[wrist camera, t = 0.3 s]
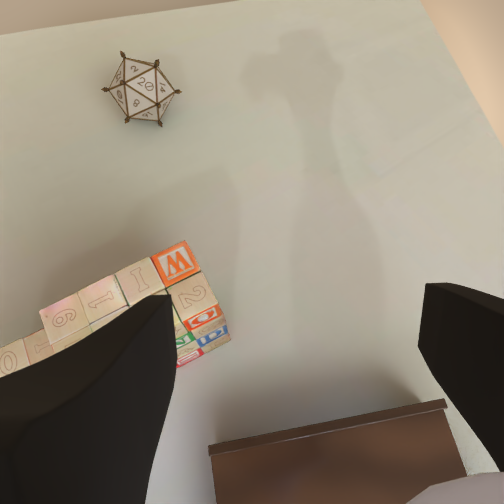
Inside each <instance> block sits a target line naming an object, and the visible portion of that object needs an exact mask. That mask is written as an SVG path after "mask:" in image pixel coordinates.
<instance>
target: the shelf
mask: <svg viewBox="0 0 504 504" xmlns="http://www.w3.org/2000/svg"><path fill="white" fill-rule="evenodd" d="M447 408H448V407H447V404H446V401H445V399H444V398H443V399H438V400H433V401H428V402H423V403H418V404H413V405H408V406H403V407H398V408H393V409H388V410H383V411H378V412H373V413H368V414H363V415H358V416H353V417H348V418H343V419H338V420H333V421H328V422H323V423H318V424H313V425H308V426H303V427H298V428H293V429H288V430H283V431H278V432H273V433H268V434H263V435H258V436H253V437H248V438H243V439H238V440H233V441H228V442H223V443H218V444H213V445H209V446H208V450H209V456H211V462H212V470H213V478H214V486H215V494H216V503H217V504H406V503H407V502H409V501H410V500H412V499H413V498H414V497H416V496H417V495H418V494H420V493H421V492H422V491H424V490H425V489H427V488H428V487H429V486H432V485H435V484H439V483H443V482H447V481H451V480H455V479H459V478H463V477H467V474H466V471H465V468H464V465H463V462H462V460H461V457H460V454H459V451H458V449H457V446H456V443H455V440H454V438H453V435H452V432H451V429H450V427H449V424H448V421H447V418H446V416H445V413H444V410H443V409H447Z"/></svg>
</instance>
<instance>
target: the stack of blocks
mask: <svg viewBox="0 0 504 504" xmlns="http://www.w3.org/2000/svg"><path fill="white" fill-rule="evenodd" d="M165 294H171V297H172V307H173V316H174V326H175V336H176V346H177V356H178V359H177V367H176V368H178V367H180V366H182V365H184V364H186V363H188V362H190V361H192V360H194V359H196V358H198V357H200V356H201V355H203V354H205V353H207V352H209V351H211V350H213V349H215V348H217V347H219V346H221V345H223V344H225V343H227V342H228V341H230V340H231V339H230V336H229V333H228V330H227V326H226V320H225V317H224V314H223V312H222V311H221V309H220V307H219V304H218V302H217V300H216V298H215V296H214V294H213V292H212V290H211V288H210V286H209V284H208V282H207V280H206V278H205V276H204V274H203V272H201V270H200V267H199V265H198V263H197V261H196V259H195V257H194V255H193V253H192V252H191V250H190V248H189V246H188V244H187V242H186V241H185V240H184V241H182V242H180V243H178V244H176V245H174V246H172V247H170V248H168V249H165V250H163V251H161V252H159V253H157V254H155V255H153V256H152V257H146V258H144V259H142V260H140V261H138V262H136V263H134V264H132V265H130V266H128V267H126V268H124V269H122V270H120V271H118V272H116V273H115V275H113V274H112V275H109V276H107V277H104V278H103V279H101V280H99V281H97V282H95V283H93V284H91V285H89V286H87V287H85V288H83V289H81V290H79V291H78V292H77V293H74V294H72V295H70V296H68V297H66V298H64V299H62V300H60V301H58V302H56V303H54V304H52V305H50V306H48V307H46V308H44V309H42V310H40V311H39V313H40V316H41V319H42V322H43V325H44V328H43V329H41V330H39V331H37V332H35V333H33V334H31V335H29V336H27V337H25V338H21V339H18V340H16V341H14V342H12V343H10V344H8V345H6V346H4V347H2V348H0V377H3V376H5V375H8V374H10V373H13V372H15V371H17V370H20V369H22V368H25V367H27V366H30V365H32V364H34V363H37V362H39V361H41V360H43V359H46V358H48V357H50V356H52V355H54V354H56V353H58V352H60V351H62V350H64V349H66V348H67V347H69V346H71V345H73V344H75V343H76V342H78V341H80V340H82V339H83V338H85V337H86V336H88V335H90V334H91V333H93V332H94V331H96V330H98V329H99V328H101V327H102V326H104V325H106V324H107V323H109V322H110V321H112V320H113V319H114V318H116V317H117V316H119V315H120V314H122V313H123V312H124V311H126V310H127V309H129V308H130V307H132V306H133V305H134V304H136V303H137V302H139V301H140V300H142V299H143V298H145V297H147V296H149V295H165Z"/></svg>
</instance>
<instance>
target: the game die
mask: <svg viewBox="0 0 504 504" xmlns="http://www.w3.org/2000/svg"><path fill="white" fill-rule="evenodd" d="M120 53H121V56H122V57H123V61H122V63H121V65H120V67H119V69H118V71H117V73H116V75H115V77H114V79H113V81H112V83H111V85H110V87H109V88H105V87H104V88H103V89H101V90H103V91H104V92H107V91H109V92H110V93H111V95H112V96H113V97H114V99H115V100H116V102H117V103H118V105H119V106H120V107H121V109H122V110H123V112H124V113H125V114H126V116H127V118H126V119H125V123H127V122H129V119H130V118H132V119H142V120H152V121H158V124H159V125H160V126H161V127H162V124H163V123H162V122H161V121H160V119H161V117H162V115H163V113H164V112H165V110H166V108H167V106H168V104H169V103H170V101H171V99H172V97H173V96H174V94H175V93H181V92H182V91H180V90H174V88H173V87H172V85H171V84H170V83H169V81H168V80H167V78H166V77H165V76H164V74H163V73H162V71H161V70H160V69H159V67H158V66H159V59H158V60H155V64H154V63H149V62H144V61H139V60H135V59H130V58H126V57H125V54H124V53H123V52H122V51H120Z"/></svg>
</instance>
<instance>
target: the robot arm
mask: <svg viewBox="0 0 504 504" xmlns="http://www.w3.org/2000/svg"><path fill="white" fill-rule="evenodd" d="M418 348H419V350H420V352H421V354H422V356H423V358H424V360H425V362H426V364H427V366H428V367H429V369H430V371H431V373H432V375H433V376H434V378H435V379H436V381H437V382H438V383H439V385H440V386H441V388H442V389H443V390H444V392H445V393H446V395H447V396H448V397H449V399H450V400H451V401H452V403H453V404H454V405H455V407H456V408H457V410H458V411H459V412H460V414H461V415H462V416H463V418H464V419H465V420H466V422H467V423H468V424H469V426H470V427H471V429H472V430H473V431H474V433H475V434H476V435H477V437H478V438H479V439H480V441H481V442H482V444H483V445H484V447H485V448H486V450H487V451H488V453H489V454H490V455H491V457H492V458H493V460H494V462H495V463H496V465H497V467H498V469H499V470H500V472H493V473H479V474H475V475H471V476H467V477H463V478H459V479H455V480H451V481H447V482H443V483H439V484H435V485H432V486H429V487H428V488H427V489H425V490H424V491H422V492H421V493H420V494H418V495H417V496H416V497H414V498H413V499H412V500H410V501H409V502H407V503H406V504H504V299H502V298H499V297H496V296H493V295H490V294H487V293H484V292H481V291H478V290H475V289H471V288H468V287H465V286H461V285H457V284H452V283H426V285H425V293H424V301H423V309H422V317H421V324H420V332H419V340H418ZM177 359H178V356H177V346H176V336H175V326H174V316H173V307H172V297H171V294H165V295H149V296H147V297H145V298H143V299H142V300H140V301H139V302H137V303H136V304H134V305H133V306H132V307H130V308H129V309H127V310H126V311H124V312H123V313H122V314H120V315H119V316H117V317H116V318H114V319H113V320H112V321H110V322H109V323H107V324H106V325H104V326H102V327H101V328H99V329H98V330H96V331H94V332H93V333H91V334H90V335H88V336H86V337H85V338H83V339H82V340H80V341H78V342H76V343H75V344H73V345H71V346H69V347H67V348H66V349H64V350H62V351H60V352H58V353H56V354H54V355H52V356H50V357H48V358H46V359H43V360H41V361H39V362H37V363H34V364H32V365H30V366H27V367H25V368H22V369H20V370H17V371H15V372H13V373H10V374H8V375H5V376H3V377H0V504H145V500H146V494H147V488H148V482H149V477H150V473H151V468H152V464H153V460H154V456H155V453H156V449H157V446H158V442H159V439H160V435H161V432H162V428H163V425H164V421H165V418H166V414H167V410H168V407H169V403H170V400H171V396H172V392H173V388H174V382H175V375H176V367H177Z"/></svg>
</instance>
